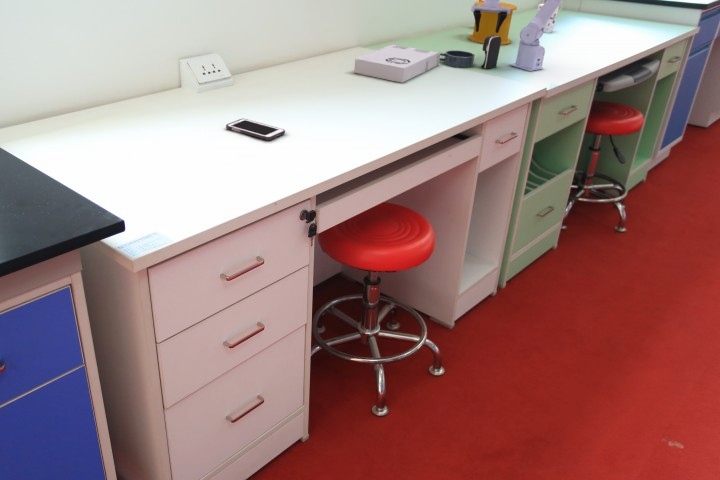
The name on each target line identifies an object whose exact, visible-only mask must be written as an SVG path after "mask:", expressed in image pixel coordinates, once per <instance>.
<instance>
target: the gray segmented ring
mask: <svg viewBox="0 0 720 480" xmlns="http://www.w3.org/2000/svg"><path fill="white" fill-rule="evenodd" d="M441 56H442V57H444V58H442V57H441ZM475 56H476V54H475V53H472V52H471V51H464V50H453V49H451V50H447V51H445V52H441V54H440V60H439V62H443V64H444V65H445V66H448V67H452V68H459V69H460V68H461V69H468V68H472V67H474V63H475V62H474V60H475Z"/></svg>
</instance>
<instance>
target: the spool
mask: <svg viewBox="0 0 720 480" xmlns="http://www.w3.org/2000/svg"><path fill="white" fill-rule="evenodd" d="M473 5H484V1H481V2H479V1H476V2H474V4H473ZM499 7H509V8H511V10H510V14H507V17H506V19H505V20H504V21H503V23H502V25H501V27H500V29H499V32H498V33H496V32H495V30H496V25H497V20H498V13H496V12H481V19H480V23H479V31H478V32H476V24H475V23H474V27H473V32H472V34H470V35H469V36H468V39H469V40H470V41H471V42H474V43H478V44H484V40H485V38H486V37H488V36H499V37H501V45H500V46H506V45H510V44H511V39H510V38H509V34H510V28H511V22H512V17H513V12H514V11H517V10H518V6H517V5H515V4H512V3H506V2H501V1H500V4H499ZM490 11H493V10H490ZM495 11H496V10H495Z"/></svg>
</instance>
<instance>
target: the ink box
mask: <svg viewBox="0 0 720 480" xmlns="http://www.w3.org/2000/svg"><path fill="white" fill-rule="evenodd" d="M543 5H544V3H539V4H538V6H537V9H536V13H535V16H536V15H537V13H538V12H539V10H540V9H541V7H542V6H543ZM559 8H560V6H558V8H557V9H556V10H555V12H554V13H553V15H552V16H551V17H550V19H549V20H548V22H547V25H546V26H545V28H544V30H543V33H546V34H551V33H554V29H555V25H556V21H557V15H558V12H559Z"/></svg>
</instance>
